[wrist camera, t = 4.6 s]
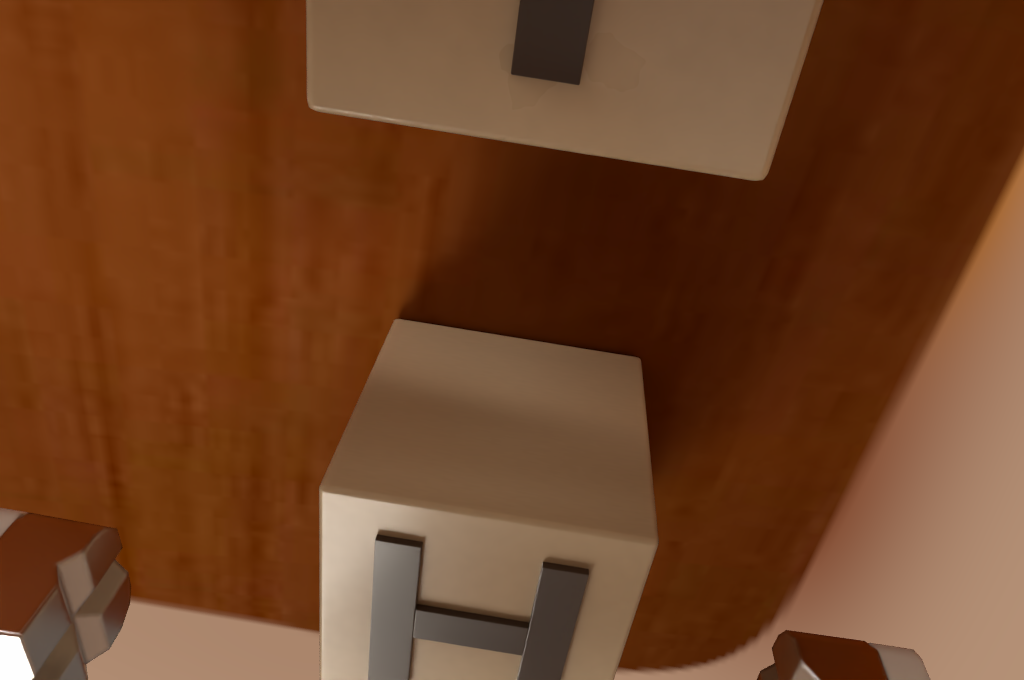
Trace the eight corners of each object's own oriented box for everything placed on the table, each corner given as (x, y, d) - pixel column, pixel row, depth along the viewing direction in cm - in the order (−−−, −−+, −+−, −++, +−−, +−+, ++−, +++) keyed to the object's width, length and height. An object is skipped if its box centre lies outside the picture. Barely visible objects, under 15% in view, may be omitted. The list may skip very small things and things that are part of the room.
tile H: (594, 533, 14) (594, 747, 11) (383, 499, 14) (315, 700, 11) (642, 356, 12) (660, 549, 9) (394, 316, 12) (314, 492, 9)
